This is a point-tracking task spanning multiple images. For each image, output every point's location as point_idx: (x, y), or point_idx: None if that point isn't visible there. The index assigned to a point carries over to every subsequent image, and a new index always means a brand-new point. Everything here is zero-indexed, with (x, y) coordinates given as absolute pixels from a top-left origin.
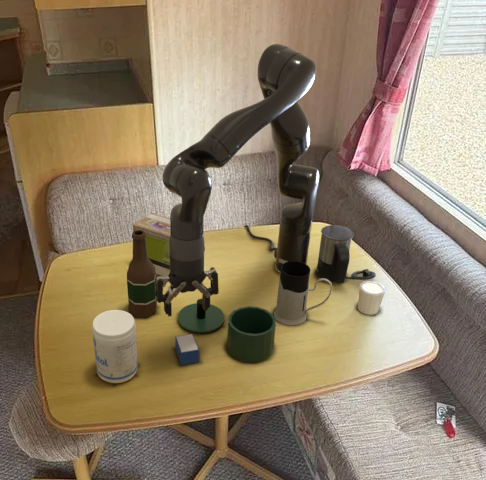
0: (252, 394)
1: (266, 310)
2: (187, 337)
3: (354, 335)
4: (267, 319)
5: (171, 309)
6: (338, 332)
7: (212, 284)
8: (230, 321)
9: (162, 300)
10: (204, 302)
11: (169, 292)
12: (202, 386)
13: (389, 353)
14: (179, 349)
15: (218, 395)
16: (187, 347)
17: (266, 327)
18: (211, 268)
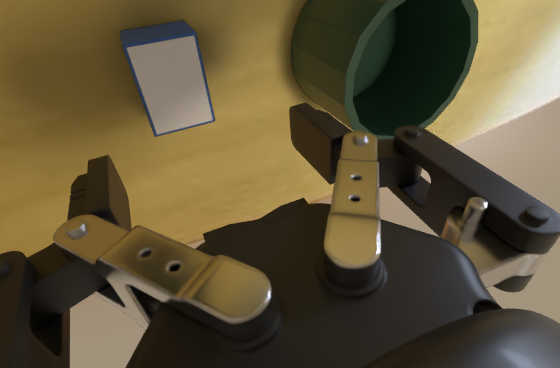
0: (303, 191)
1: (476, 17)
2: (175, 55)
3: (546, 22)
4: (450, 30)
5: (130, 223)
6: (533, 6)
7: (425, 207)
8: (352, 74)
9: (69, 310)
10: (314, 161)
11: (122, 299)
12: (208, 181)
13: (544, 83)
14: (147, 115)
15: (240, 200)
16: (177, 112)
17: (425, 23)
18: (542, 243)
